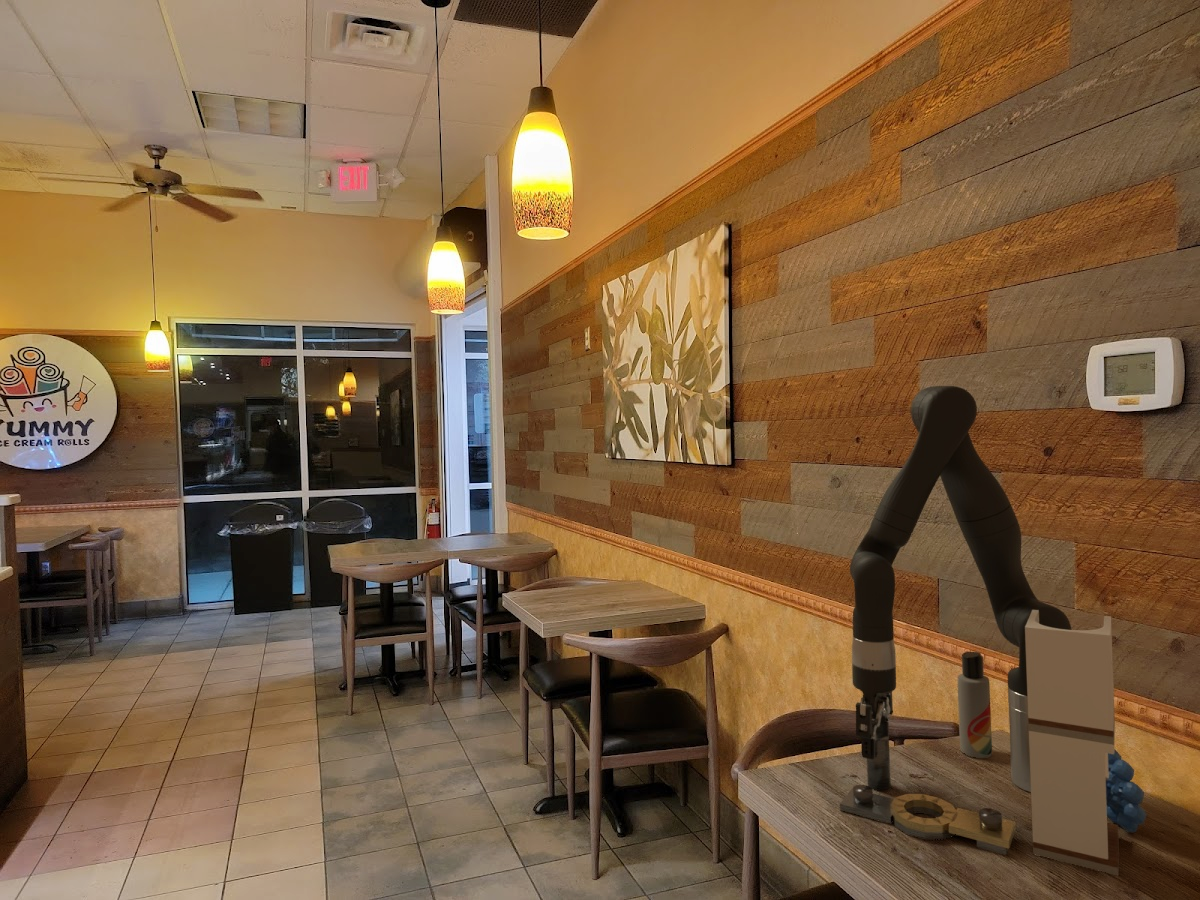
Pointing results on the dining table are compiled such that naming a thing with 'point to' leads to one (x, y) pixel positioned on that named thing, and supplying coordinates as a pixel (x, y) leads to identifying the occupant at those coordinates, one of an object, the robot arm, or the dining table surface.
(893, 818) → the tan piece
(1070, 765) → the beige rectangular tower
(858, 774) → the dining table surface
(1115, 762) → the grapes
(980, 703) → the lotion bottle
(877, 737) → the pin
